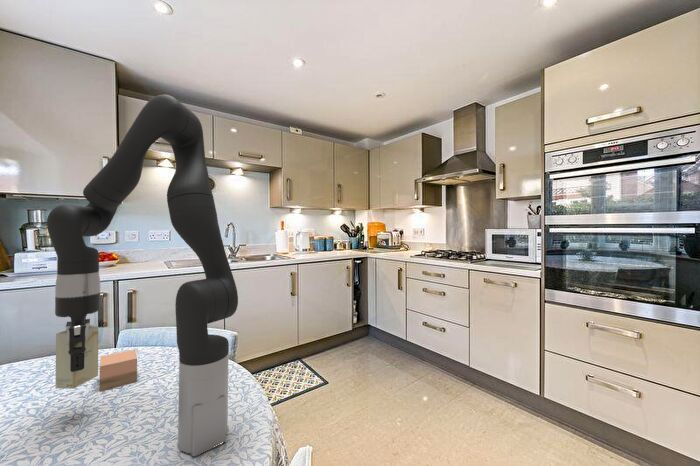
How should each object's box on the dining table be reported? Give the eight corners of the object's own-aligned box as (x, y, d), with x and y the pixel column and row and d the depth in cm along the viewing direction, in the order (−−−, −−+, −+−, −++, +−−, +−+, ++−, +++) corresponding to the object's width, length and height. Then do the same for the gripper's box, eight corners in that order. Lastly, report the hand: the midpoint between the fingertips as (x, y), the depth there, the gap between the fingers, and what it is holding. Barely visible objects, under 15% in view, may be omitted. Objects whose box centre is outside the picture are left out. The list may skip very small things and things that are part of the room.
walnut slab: (136, 383, 82) (137, 370, 82) (99, 393, 76) (99, 380, 76) (134, 372, 88) (134, 361, 88) (99, 381, 82) (99, 368, 82)
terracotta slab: (136, 370, 82) (137, 358, 82) (99, 379, 77) (99, 366, 77) (135, 360, 88) (135, 349, 88) (100, 368, 83) (100, 356, 83)
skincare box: (73, 389, 63) (74, 333, 63) (53, 389, 63) (54, 333, 63) (99, 375, 69) (99, 324, 69) (81, 375, 69) (81, 324, 69)
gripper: (100, 295, 63) (100, 370, 63) (99, 286, 74) (99, 350, 74) (51, 300, 58) (51, 382, 58) (58, 290, 69) (57, 359, 69)
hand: (78, 364), depth 66 cm, fingers closed on skincare box, 7 cm apart
